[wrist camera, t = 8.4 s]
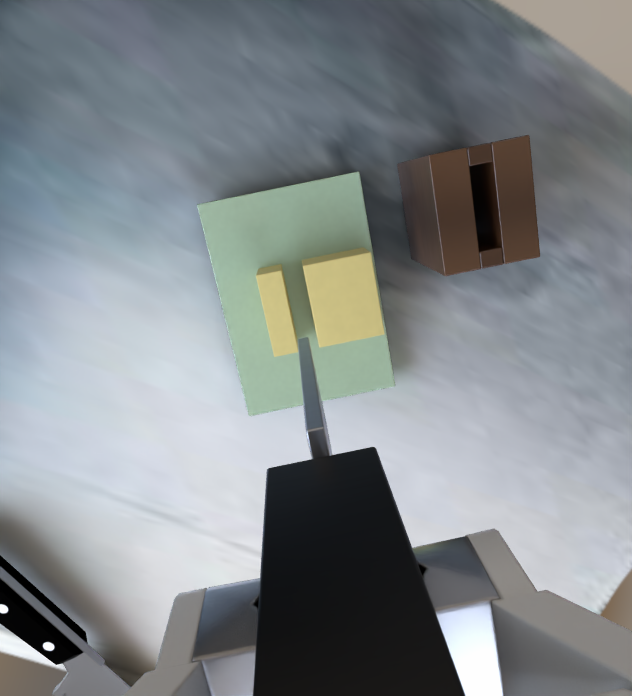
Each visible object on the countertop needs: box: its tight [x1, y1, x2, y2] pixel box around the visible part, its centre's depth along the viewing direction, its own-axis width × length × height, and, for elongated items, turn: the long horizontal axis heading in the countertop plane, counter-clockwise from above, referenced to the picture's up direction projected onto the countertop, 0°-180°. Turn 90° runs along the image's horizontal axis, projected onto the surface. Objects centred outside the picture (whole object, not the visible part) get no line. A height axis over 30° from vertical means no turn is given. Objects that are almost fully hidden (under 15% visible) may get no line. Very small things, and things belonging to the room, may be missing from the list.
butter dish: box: [197, 172, 395, 416], centre depth 37 cm, size 14×10×1 cm
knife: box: [253, 337, 466, 696], centre depth 13 cm, size 4×2×15 cm
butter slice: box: [256, 264, 299, 357], centre depth 35 cm, size 5×2×3 cm, turn 11°
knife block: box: [397, 135, 540, 276], centre depth 32 cm, size 6×5×8 cm
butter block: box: [302, 247, 385, 348], centre depth 35 cm, size 5×4×3 cm
